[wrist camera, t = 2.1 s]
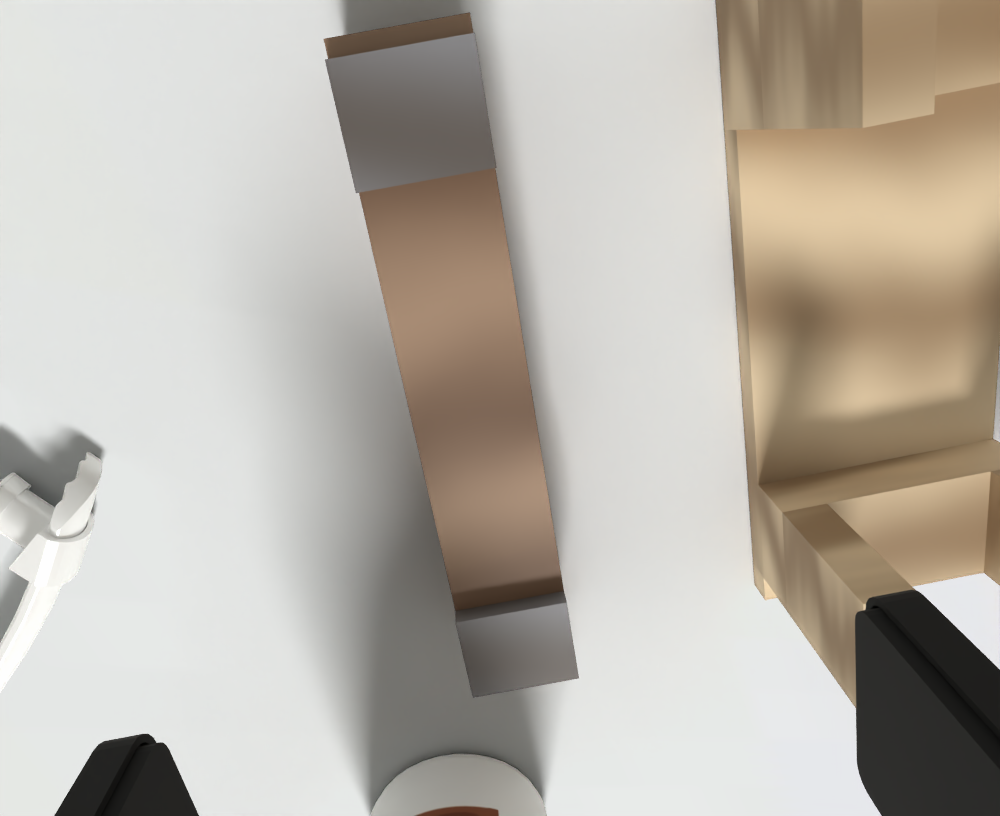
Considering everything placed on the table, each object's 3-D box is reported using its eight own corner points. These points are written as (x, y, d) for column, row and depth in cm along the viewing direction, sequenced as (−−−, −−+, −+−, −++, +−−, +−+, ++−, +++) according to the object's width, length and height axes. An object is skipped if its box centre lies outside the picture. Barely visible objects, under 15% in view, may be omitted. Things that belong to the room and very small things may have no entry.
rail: (348, 57, 21) (319, 36, 16) (465, 36, 21) (470, 8, 16) (471, 613, 28) (475, 709, 24) (558, 597, 28) (580, 689, 24)
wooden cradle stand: (711, -56, 21) (861, -163, 13) (1006, -114, 21) (1324, -256, 13) (754, 584, 28) (863, 744, 21) (967, 542, 28) (1151, 688, 21)
